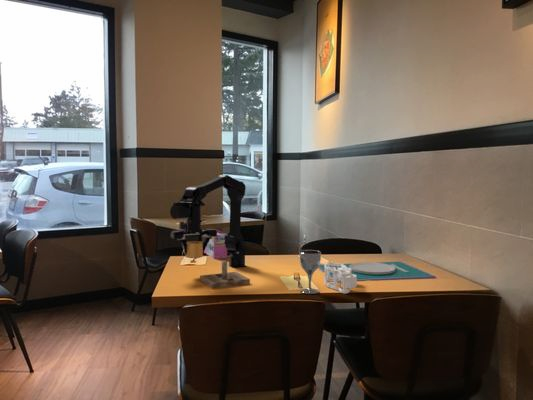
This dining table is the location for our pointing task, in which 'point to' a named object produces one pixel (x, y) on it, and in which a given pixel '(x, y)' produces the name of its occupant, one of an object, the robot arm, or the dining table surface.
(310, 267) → the wine glass
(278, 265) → the dining table surface
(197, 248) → the notched tan hollow cylinder
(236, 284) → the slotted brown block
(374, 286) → the dining table surface
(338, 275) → the clear lumpy piece
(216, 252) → the gum box
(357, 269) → the place mat
